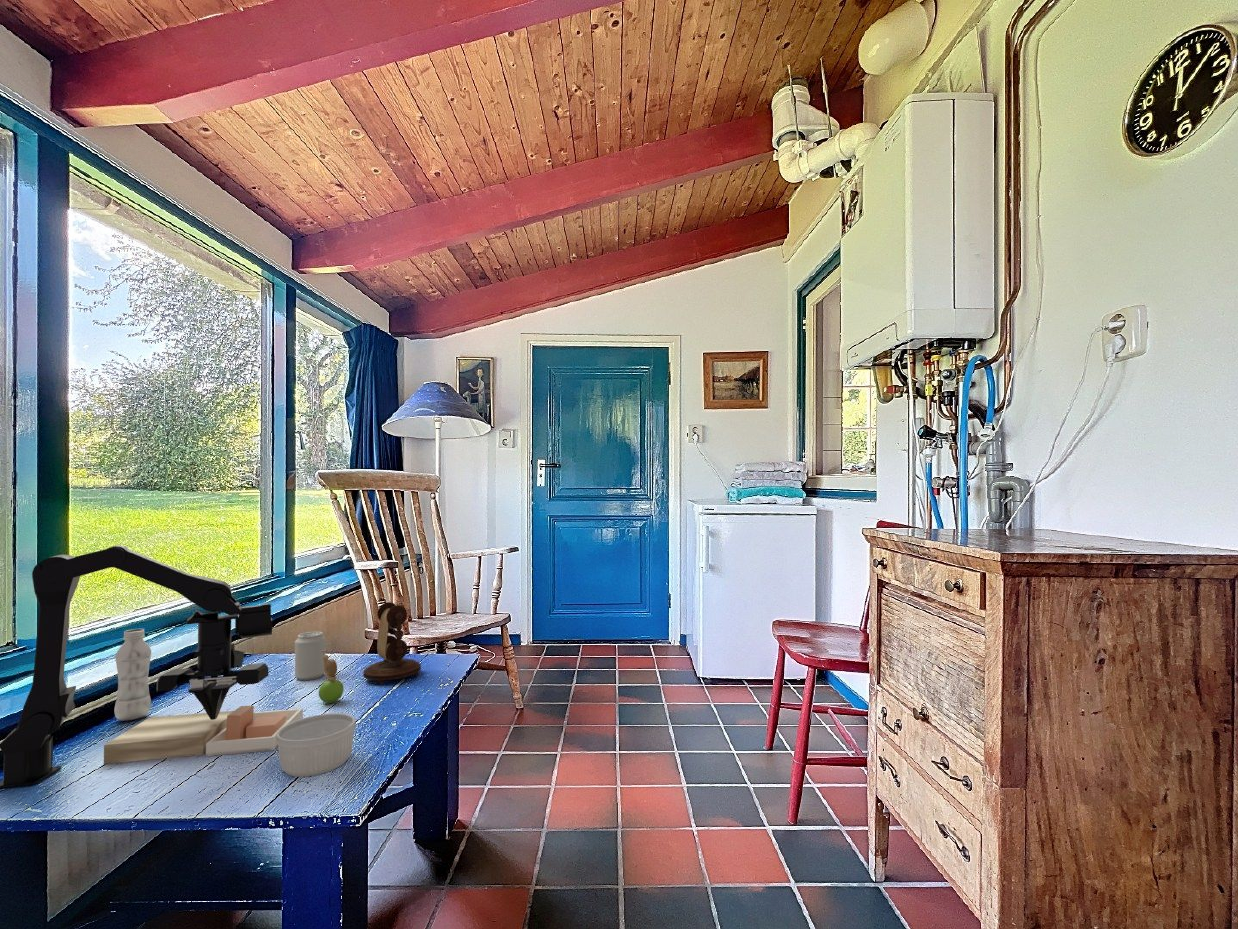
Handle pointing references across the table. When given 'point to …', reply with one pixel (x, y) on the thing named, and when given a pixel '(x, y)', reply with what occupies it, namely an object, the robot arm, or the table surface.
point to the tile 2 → (265, 726)
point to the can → (309, 655)
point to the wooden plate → (165, 738)
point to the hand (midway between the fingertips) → (214, 719)
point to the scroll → (391, 647)
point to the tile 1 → (239, 722)
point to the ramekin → (315, 744)
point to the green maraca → (330, 682)
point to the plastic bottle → (133, 677)
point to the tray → (224, 747)
